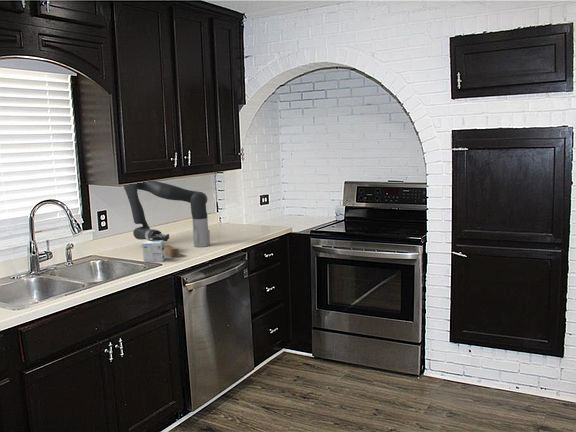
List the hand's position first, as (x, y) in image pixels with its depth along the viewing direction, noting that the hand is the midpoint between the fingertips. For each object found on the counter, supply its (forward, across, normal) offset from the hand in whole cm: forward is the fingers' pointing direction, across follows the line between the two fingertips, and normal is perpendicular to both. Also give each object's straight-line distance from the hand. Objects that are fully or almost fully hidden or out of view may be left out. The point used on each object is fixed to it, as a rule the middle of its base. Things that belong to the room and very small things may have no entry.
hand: (166, 239), depth 326 cm
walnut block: (-3, 0, +6) cm, 7 cm away
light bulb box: (+9, -12, +9) cm, 18 cm away
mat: (+5, 0, +9) cm, 10 cm away
